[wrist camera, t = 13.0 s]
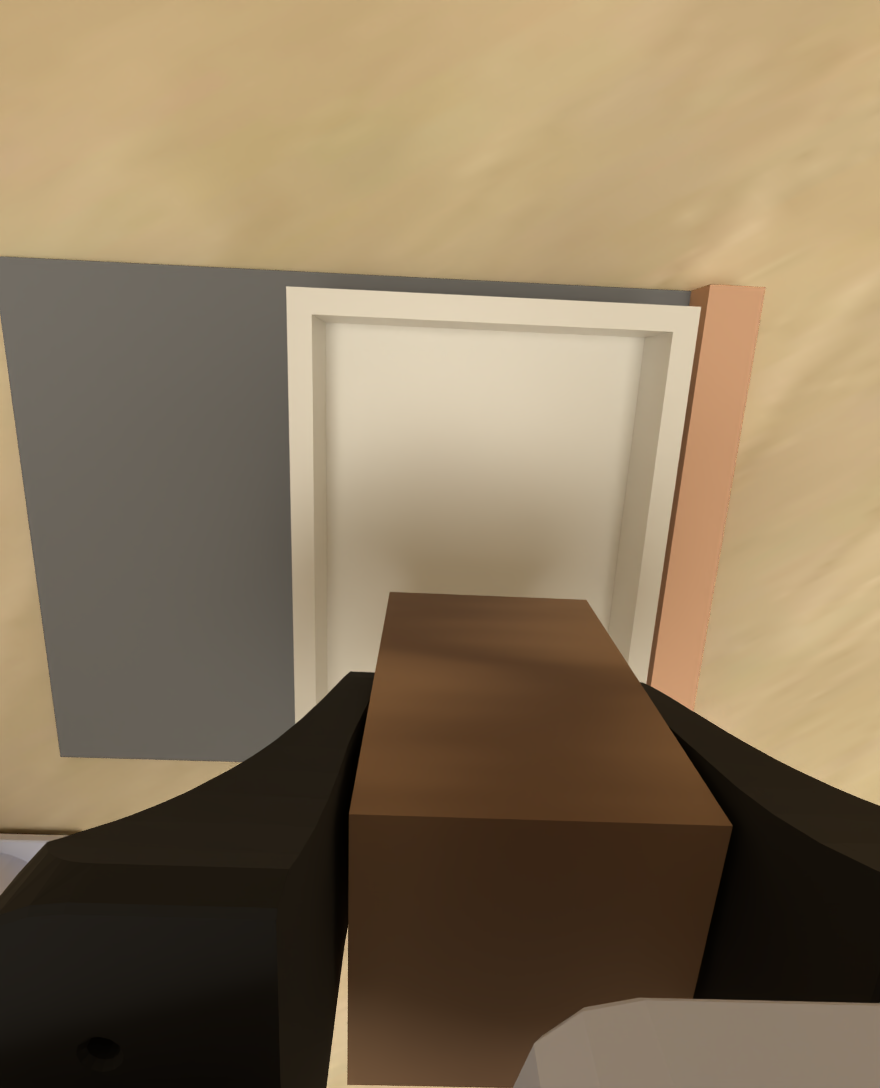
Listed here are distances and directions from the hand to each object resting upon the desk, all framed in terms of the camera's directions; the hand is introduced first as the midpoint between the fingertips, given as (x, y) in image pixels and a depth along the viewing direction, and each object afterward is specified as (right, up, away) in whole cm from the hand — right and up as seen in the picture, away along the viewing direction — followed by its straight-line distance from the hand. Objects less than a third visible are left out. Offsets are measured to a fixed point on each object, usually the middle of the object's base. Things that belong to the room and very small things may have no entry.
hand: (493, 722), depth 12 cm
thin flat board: (-4, +3, +9) cm, 10 cm away
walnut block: (0, 0, +3) cm, 3 cm away
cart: (0, +3, +8) cm, 9 cm away
